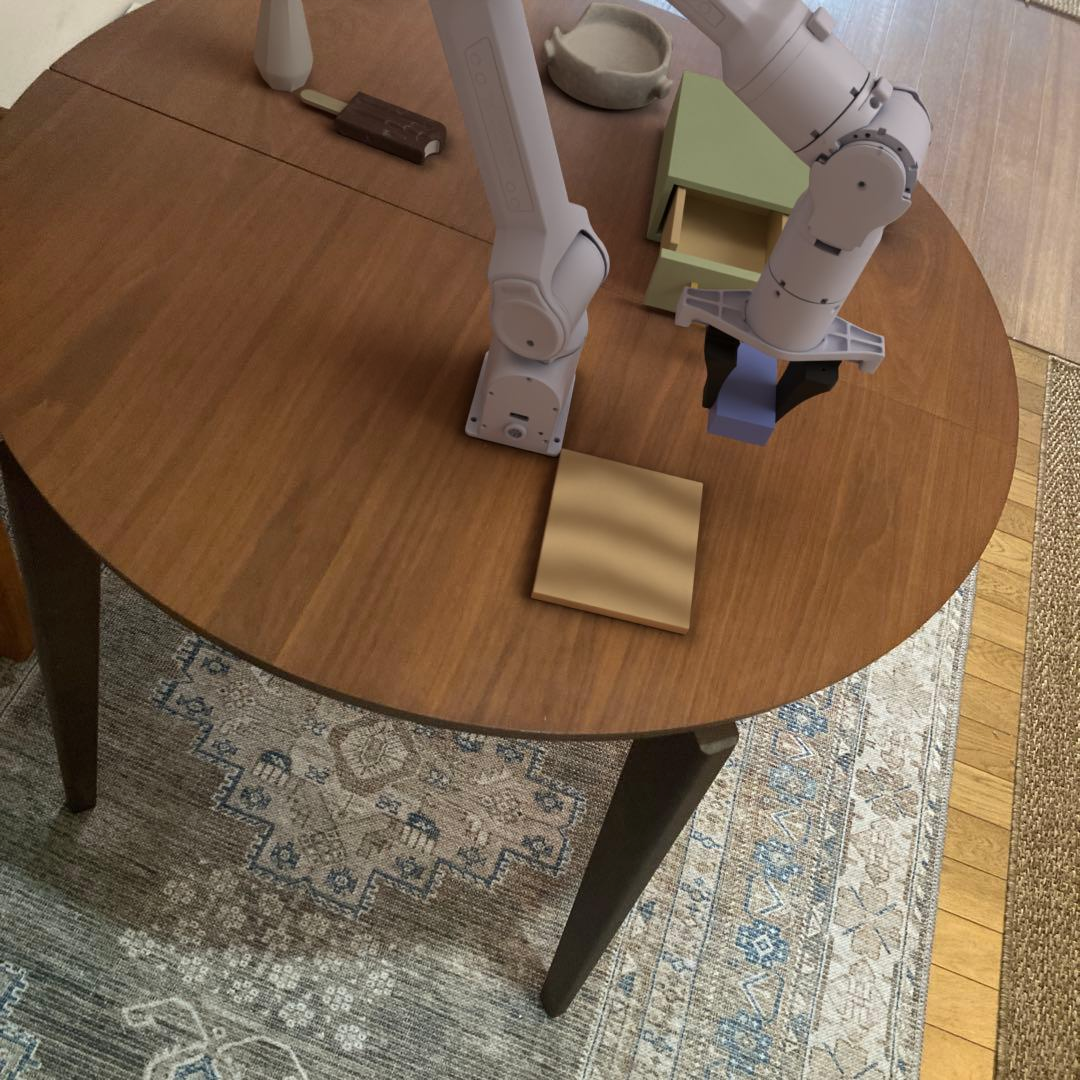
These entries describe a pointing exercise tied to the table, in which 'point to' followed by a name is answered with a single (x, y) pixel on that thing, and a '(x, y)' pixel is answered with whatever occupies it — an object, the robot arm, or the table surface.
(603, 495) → the board
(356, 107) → the ice cream bar
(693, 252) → the drawer
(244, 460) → the table surface
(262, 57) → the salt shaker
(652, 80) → the dish
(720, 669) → the table surface
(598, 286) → the robot arm
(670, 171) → the cabinet
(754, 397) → the blue rectangular block
